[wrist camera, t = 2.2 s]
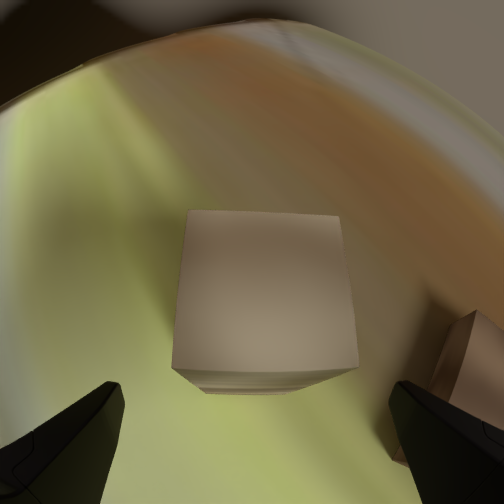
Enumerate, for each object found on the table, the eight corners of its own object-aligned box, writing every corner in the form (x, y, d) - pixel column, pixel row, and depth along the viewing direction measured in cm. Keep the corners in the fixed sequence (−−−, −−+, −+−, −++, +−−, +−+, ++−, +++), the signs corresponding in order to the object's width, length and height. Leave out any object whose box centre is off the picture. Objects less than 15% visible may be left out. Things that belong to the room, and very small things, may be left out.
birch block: (284, 394, 18) (359, 367, 8) (206, 393, 18) (171, 368, 7) (282, 321, 20) (338, 216, 10) (208, 320, 20) (187, 209, 10)
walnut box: (478, 495, 13) (508, 497, 10) (389, 459, 16) (419, 464, 12) (520, 380, 18) (548, 370, 15) (447, 326, 21) (476, 309, 18)
